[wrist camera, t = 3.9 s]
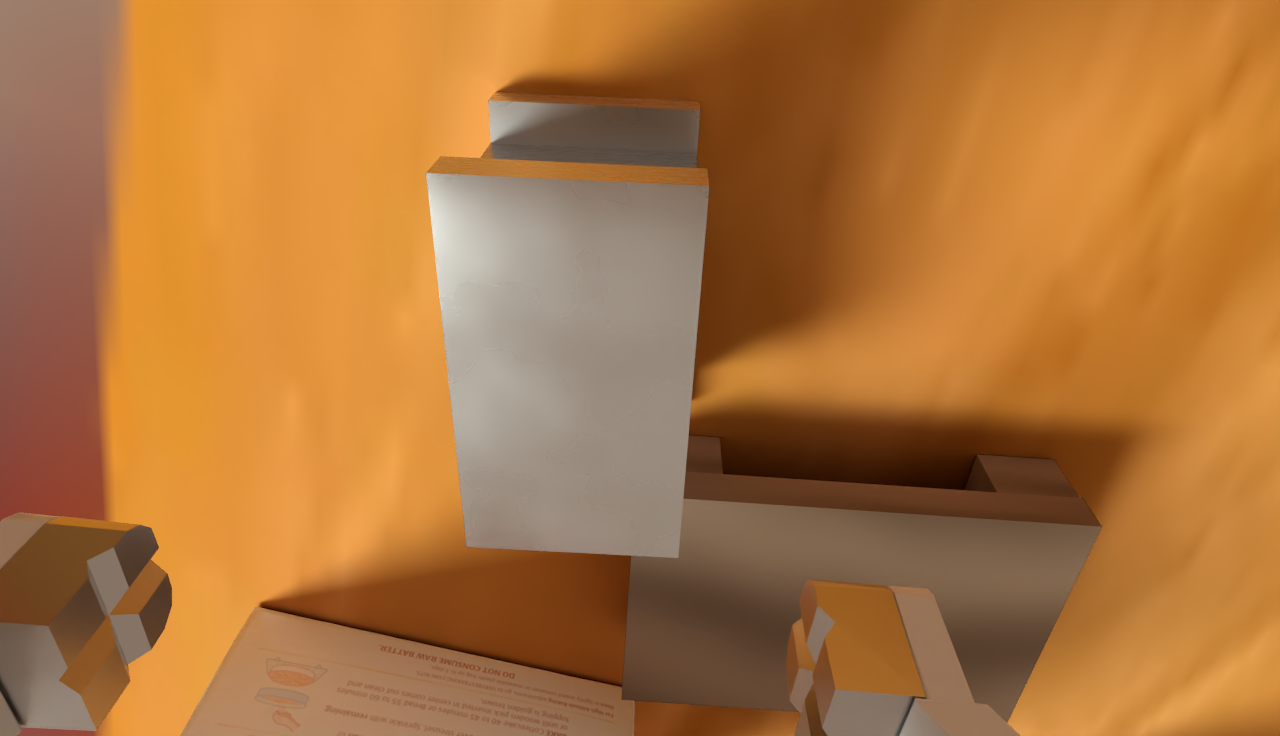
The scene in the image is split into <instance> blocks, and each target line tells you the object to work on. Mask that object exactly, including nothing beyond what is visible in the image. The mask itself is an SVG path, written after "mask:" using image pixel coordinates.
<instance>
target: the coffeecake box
mask: <svg viewBox="0 0 1280 736" xmlns="http://www.w3.org/2000/svg"><path fill="white" fill-rule="evenodd" d="M621 698H622V687H620V686H615V685H610V684H605V683H600V682H596V681H591V680H586V679H581V678H576V677H571V676H567V675H563V674H559V673H554V672H550V671H546V670H541V669H536V668H532V667H527V666H522V665H518V664H513V663H508V662H504V661H499V660H495V659H491V658H486V657H481V656H477V655H472V654H468V653H463V652H459V651H454V650H450V649H445V648H440V647H436V646H431V645H427V644H423V643H418V642H414V641H409V640H404V639H399V638H395V637H391V636H386V635H382V634H378V633H374V632H369V631H364V630H359V629H355V628H350V627H346V626H341V625H337V624H333V623H328V622H323V621H318V620H313V619H309V618H305V617H300V616H296V615H291V614H287V613H283V612H278V611H274V610H269V609H265V608H261V607H255V608H254V610H253V611H252V613H251V614H250V616H249V618H248V619H247V621H246V622H245V624H244V626H243V627H242V629H241V630H240V632H239V634H238V635H237V637H236V639H235V640H234V642H233V644H232V646H231V647H230V649H229V651H228V653H227V654H226V656H225V658H224V660H223V661H222V663H221V665H220V667H219V668H218V670H217V672H216V674H215V675H214V677H213V679H212V680H211V682H210V684H209V686H208V687H207V689H206V691H205V693H204V694H203V696H202V698H201V700H200V701H199V703H198V705H197V707H196V709H195V710H194V712H193V714H192V716H191V718H190V719H189V721H188V723H187V725H186V727H185V728H184V730H183V732H182V734H181V736H634V716H635V701H632V700H621Z"/></svg>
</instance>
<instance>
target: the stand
mask: <svg viewBox="0 0 1280 736" xmlns="http://www.w3.org/2000/svg"><path fill="white" fill-rule="evenodd" d="M1101 528H1102V526H1101V524H1100V523H1099V521H1098V520H1097V518H1096V517H1095V515H1094V514H1093V512H1092V511H1091V509H1090V508H1089V506H1088V505H1087V503H1086V502H1085V501H1084V499H1083V498H1079V496H1078V495H1077V493H1076V492H1075V490H1074V489H1073V487H1072V486H1071V484H1070V483H1069V481H1068V480H1067V478H1066V477H1065V475H1064V474H1063V472H1062V471H1061V469H1060V468H1059V466H1058V465H1057V463H1056V462H1055V460H1052V459H1037V458H1022V457H1007V456H992V455H977V456H976V458H975V461H974V464H973V467H972V470H971V473H970V476H969V478H968V481H967V484H966V487H965V490H953V489H938V488H923V487H908V486H893V485H878V484H863V483H848V482H833V481H818V480H803V479H788V478H773V477H758V476H743V475H729V474H723V471H722V459H721V447H720V437H708V436H693V435H689V436H688V448H687V460H686V472H685V484H684V496H683V508H682V520H681V532H680V544H679V556H678V558H668V557H649V556H631V565H630V580H629V594H628V609H627V623H626V638H625V652H624V667H623V682H622V698H621V700H632V701H647V702H661V703H676V704H691V705H706V706H721V707H735V708H750V709H765V710H780V711H795V712H799V711H798V710H797V709H796V708H795V707H794V705H793V704H792V703H791V702H790V700H789V693H788V685H787V671H786V661H787V648H788V641H789V637H790V632H791V628H792V625H793V624H794V623H796V622H797V621H798V620H800V619H801V618H802V615H801V609H800V604H799V599H800V596H801V592H802V589H803V586H804V585H805V583H806V582H807V580H819V581H832V582H846V583H860V584H874V585H884V586H885V587H886V586H899V587H912V588H926V589H928V590H929V591H930V592H931V593H932V594H933V595H934V597H935V600H936V602H937V605H938V608H939V610H940V613H941V615H942V618H943V621H944V623H945V626H946V629H947V631H948V634H949V636H950V639H951V642H952V644H953V647H954V650H955V652H956V655H957V658H958V660H959V663H960V665H961V668H962V671H963V673H964V676H965V679H966V681H967V684H968V686H969V689H970V692H971V694H972V697H973V700H974V702H975V703H979V704H987V705H988V706H990V707H991V708H992V709H993V710H994V711H995V712H996V713H997V714H998V715H999V716H1000V717H1001V718H1002V719H1003V720H1004V721H1006V722H1008V720H1009V718H1010V716H1011V714H1012V712H1013V710H1014V708H1015V706H1016V703H1017V701H1018V699H1019V697H1020V695H1021V693H1022V691H1023V689H1024V687H1025V685H1026V683H1027V681H1028V679H1029V677H1030V675H1031V672H1032V670H1033V668H1034V666H1035V664H1036V662H1037V660H1038V658H1039V656H1040V654H1041V652H1042V650H1043V648H1044V646H1045V644H1046V642H1047V639H1048V637H1049V635H1050V633H1051V631H1052V629H1053V627H1054V625H1055V623H1056V621H1057V619H1058V617H1059V615H1060V613H1061V611H1062V608H1063V606H1064V604H1065V602H1066V600H1067V598H1068V596H1069V594H1070V592H1071V590H1072V588H1073V586H1074V584H1075V582H1076V580H1077V577H1078V575H1079V573H1080V571H1081V569H1082V567H1083V565H1084V563H1085V561H1086V559H1087V557H1088V555H1089V553H1090V551H1091V549H1092V547H1093V544H1094V542H1095V540H1096V538H1097V536H1098V534H1099V532H1100V530H1101Z"/></svg>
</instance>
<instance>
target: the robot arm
mask: <svg viewBox="0 0 1280 736" xmlns="http://www.w3.org/2000/svg"><path fill="white" fill-rule="evenodd" d="M158 548H159V547H158V544H157V542H156V539H155V537H154V534H153V531H152V529H151V528H149V527H146V526H142V525H137V524H127V523H118V522H109V521H100V520H91V519H81V518H72V517H63V516H60V517H57V516H47V515H37V514H28V513H17V514H15V515H12V516H9V517H7V518H4V519H3V520H2V521H0V736H16V735H17V734H18V733H20V732H21V730H22V729H21V728H20V727H31V728H32V727H33V728H51V729H71V730H91V731H97V729H98V728H99V727H100V725H101V724H102V722H103V721H104V719H105V718H106V716H107V715H108V713H109V712H110V710H111V709H112V707H113V706H114V704H115V703H116V701H117V700H118V698H119V697H120V695H121V694H122V693H123V691H124V690H125V688H126V687H127V685H128V684H129V682H130V676H129V669H128V664H129V663H131V662H132V661H134V660H135V659H137V658H139V657H140V656H142V655H143V654H145V653H147V652H148V651H150V650H151V649H152V648H153V646H154V645H155V643H156V641H157V640H158V638H159V637H160V635H161V634H162V632H163V630H164V628H165V625H166V622H167V619H168V616H169V613H170V609H171V606H172V587H171V584H170V581H169V577H168V574H167V573H166V572H165V571H164V570H162V569H161V568H160V567H159V566H158V565H157V564H155V563H154V562H153V561H152V560H151V558H152V557H153V555H154V554H155V552H156V551H157V550H158ZM799 604H800V609H801V615H802V618H801V619H800V620H798V621H797V622H796V623H794V624H793V625H792V628H791V632H790V637H789V641H788V648H787V661H786V671H787V685H788V693H789V700H790V702H791V703H792V704H793V705H794V707H795V708H796V709H797V710H798V711H799V712H800V713H801V714H800V717H799V721H798V724H797V727H796V731H795V736H1020V735H1019V734H1018V733H1017V732H1016V731H1015V730H1014V729H1013V728H1012V727H1011V726H1010V725H1009V724H1008V723H1007V722H1006V721H1004V720H1003V719H1002V718H1001V717H1000V716H999V715H998V714H997V713H996V712H995V711H994V710H993V709H992V708H991V707H990V706H988V705H987V704H979V703H975V702H974V700H973V697H972V694H971V692H970V689H969V686H968V684H967V681H966V679H965V676H964V673H963V671H962V668H961V665H960V663H959V660H958V658H957V655H956V652H955V650H954V647H953V644H952V642H951V639H950V636H949V634H948V631H947V629H946V626H945V623H944V621H943V618H942V615H941V613H940V610H939V608H938V605H937V602H936V600H935V597H934V595H933V594H932V593H931V592H930V591H929V590H928V589H926V588H912V587H899V586H886V587H885V586H884V585H874V584H860V583H846V582H832V581H819V580H807V582H806V583H805V585H804V586H803V589H802V592H801V596H800V599H799Z"/></svg>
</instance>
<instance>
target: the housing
mask: <svg viewBox="0 0 1280 736" xmlns="http://www.w3.org/2000/svg"><path fill="white" fill-rule="evenodd" d="M488 103H489V118H490V134H491V144H490V145H489V147H488V148H487V149H486V151H485V152H484V154H483V155H482V156H481V158H464V157H443V156H440V157H439V159H438V160H437V161H436V162H435V163H434V164H433V166H432V167H431V168H430V169H429V170H428V171H427V173H426V176H427V185H428V194H429V204H430V213H431V222H432V232H433V241H434V250H435V259H436V269H437V278H438V287H439V296H440V306H441V315H442V324H443V333H444V343H445V352H446V361H447V370H448V380H449V389H450V398H451V407H452V417H453V426H454V435H455V444H456V454H457V463H458V472H459V481H460V491H461V500H462V509H463V518H464V528H465V537H466V546H467V547H475V548H494V549H514V550H533V551H552V552H571V553H591V554H610V555H629V556H649V557H668V558H678V556H679V544H680V532H681V520H682V508H683V496H684V484H685V472H686V460H687V448H688V436H689V424H690V412H691V400H692V389H693V377H694V365H695V353H696V341H697V329H698V317H699V305H700V293H701V281H702V269H703V257H704V245H705V233H706V221H707V209H708V197H709V178H708V170H707V169H704V168H699V167H698V156H697V148H698V135H699V121H700V103H699V101H686V100H663V99H641V98H619V97H597V96H575V95H552V94H530V93H508V92H495V93H494V94H493V96H492V97H491V98H490V99H489V100H488Z"/></svg>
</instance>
